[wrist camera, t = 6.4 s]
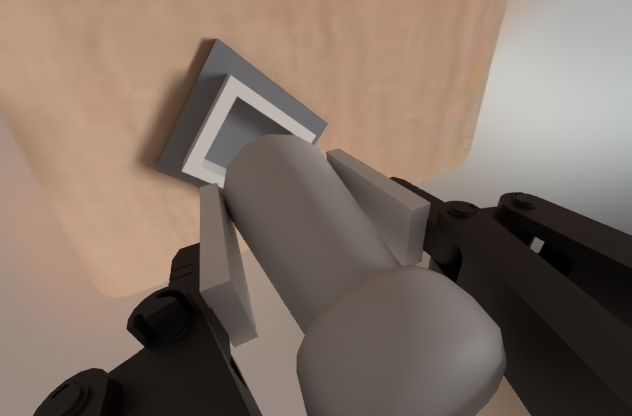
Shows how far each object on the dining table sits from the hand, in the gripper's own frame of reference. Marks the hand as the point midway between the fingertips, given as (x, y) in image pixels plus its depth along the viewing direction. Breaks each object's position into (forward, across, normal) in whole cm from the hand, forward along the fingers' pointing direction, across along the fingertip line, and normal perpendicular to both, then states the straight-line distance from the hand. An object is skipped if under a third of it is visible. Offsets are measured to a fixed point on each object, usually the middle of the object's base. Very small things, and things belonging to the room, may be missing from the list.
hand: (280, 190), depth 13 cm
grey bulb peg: (+3, 0, 0) cm, 3 cm away
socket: (+18, 0, -2) cm, 18 cm away
